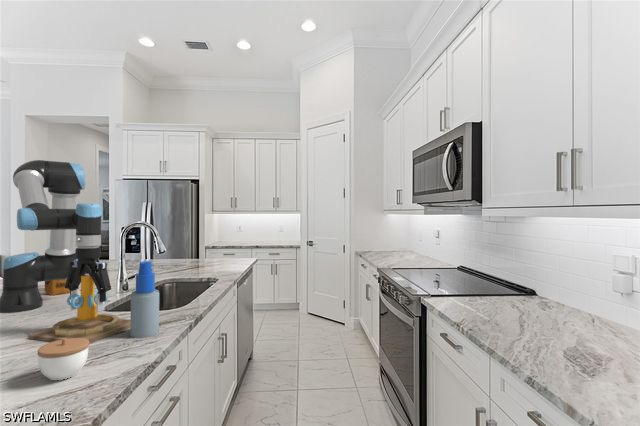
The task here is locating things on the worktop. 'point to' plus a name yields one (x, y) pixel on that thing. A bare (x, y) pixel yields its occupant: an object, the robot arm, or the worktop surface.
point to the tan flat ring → (88, 331)
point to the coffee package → (56, 287)
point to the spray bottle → (145, 304)
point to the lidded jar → (63, 358)
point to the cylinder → (85, 299)
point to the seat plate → (49, 335)
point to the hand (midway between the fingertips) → (87, 309)
